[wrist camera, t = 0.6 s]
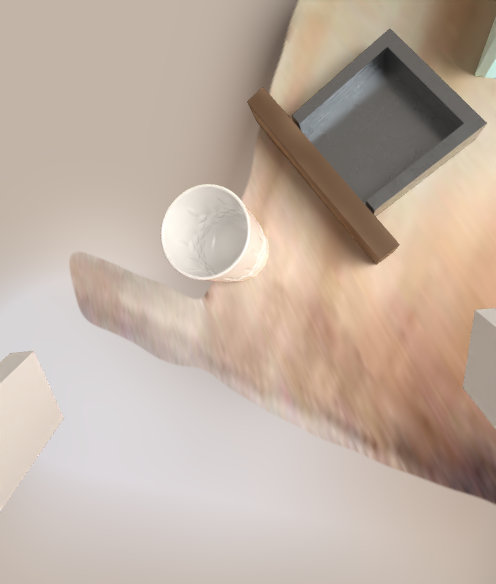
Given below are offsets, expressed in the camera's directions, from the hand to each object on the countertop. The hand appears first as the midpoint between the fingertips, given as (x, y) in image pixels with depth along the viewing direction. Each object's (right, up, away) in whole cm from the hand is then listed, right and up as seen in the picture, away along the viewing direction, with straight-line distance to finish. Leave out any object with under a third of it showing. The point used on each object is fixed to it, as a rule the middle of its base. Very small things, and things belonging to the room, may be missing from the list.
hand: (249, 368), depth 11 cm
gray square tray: (+13, +18, +24) cm, 32 cm away
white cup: (-1, +7, +28) cm, 29 cm away
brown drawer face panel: (+8, +14, +25) cm, 30 cm away
